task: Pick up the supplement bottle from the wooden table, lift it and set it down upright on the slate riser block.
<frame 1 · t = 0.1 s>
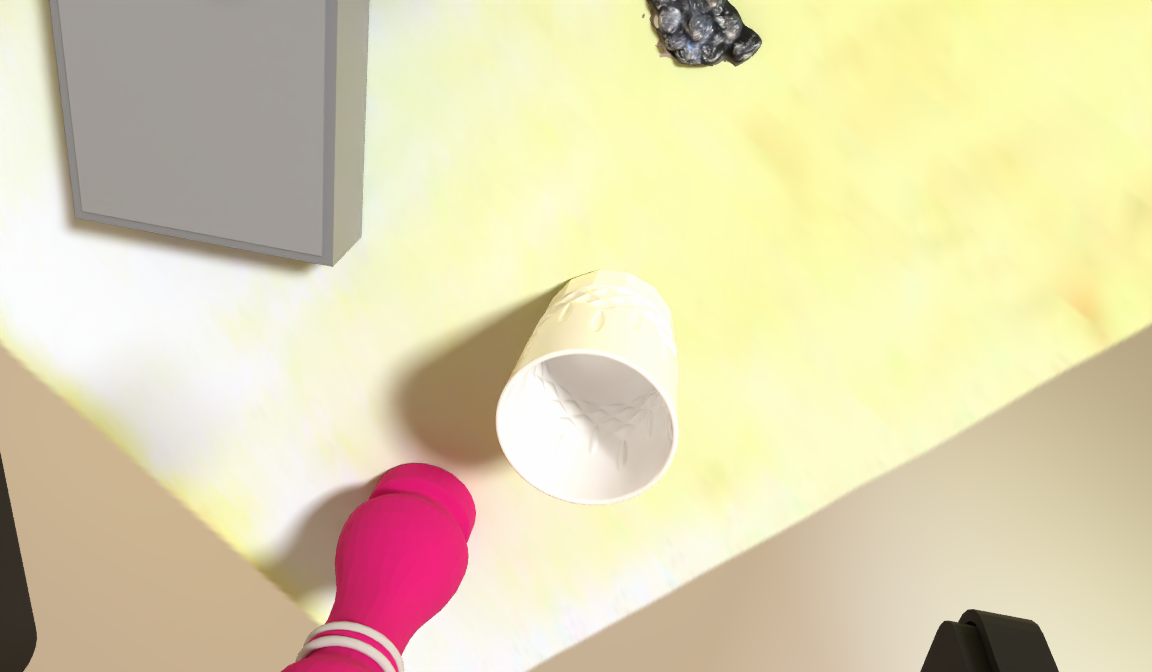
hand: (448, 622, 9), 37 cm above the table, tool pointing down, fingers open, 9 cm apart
slate riser: (236, 90, 46), on the table
pepper mill: (426, 503, 56), on the table
white cup: (610, 325, 49), on the table
blueberries: (711, 15, 42), on the table
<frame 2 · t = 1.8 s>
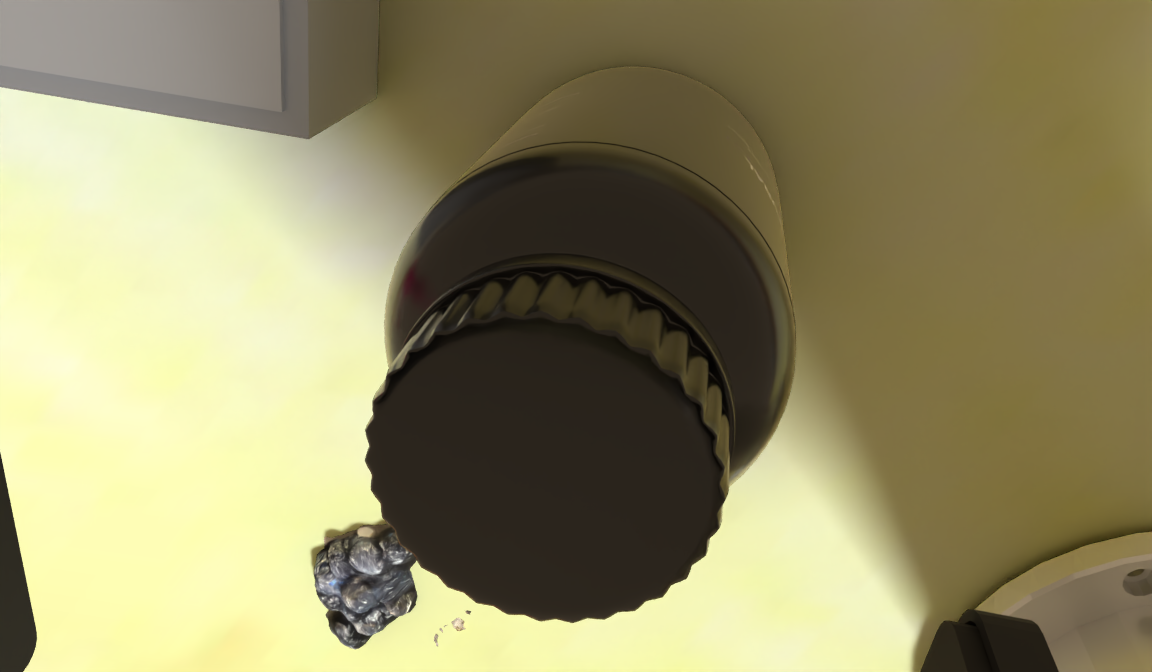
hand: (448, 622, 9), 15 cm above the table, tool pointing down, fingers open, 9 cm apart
supplement bottle: (635, 199, 23), on the table
blueberries: (388, 579, 30), on the table
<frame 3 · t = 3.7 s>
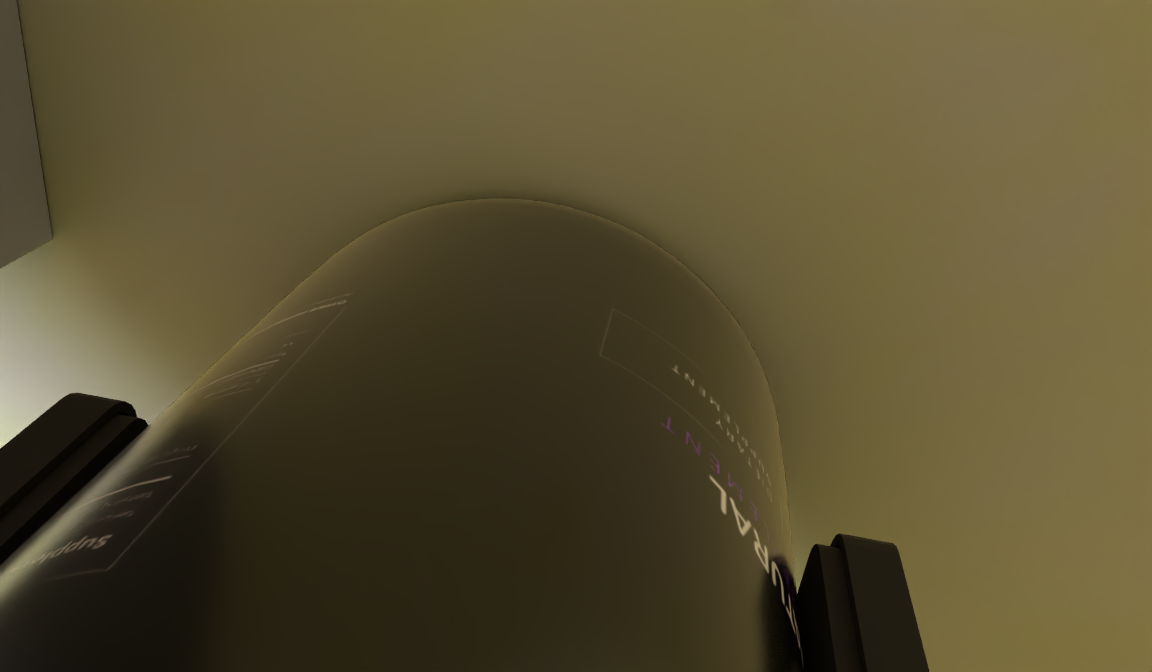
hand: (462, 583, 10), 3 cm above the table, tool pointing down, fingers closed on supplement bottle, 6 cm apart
supplement bottle: (524, 411, 13), on the table, touching gripper
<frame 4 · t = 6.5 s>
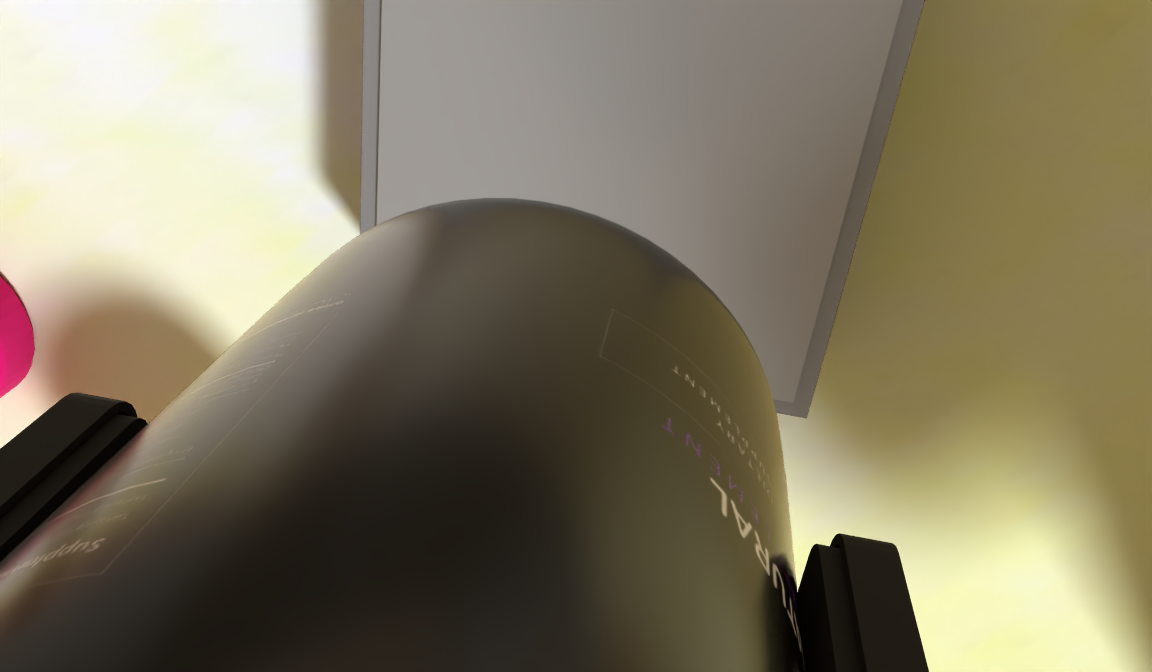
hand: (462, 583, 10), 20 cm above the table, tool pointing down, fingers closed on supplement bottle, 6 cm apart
slate riser: (625, 119, 27), on the table
supplement bottle: (524, 412, 13), point 16 cm above the table, touching gripper
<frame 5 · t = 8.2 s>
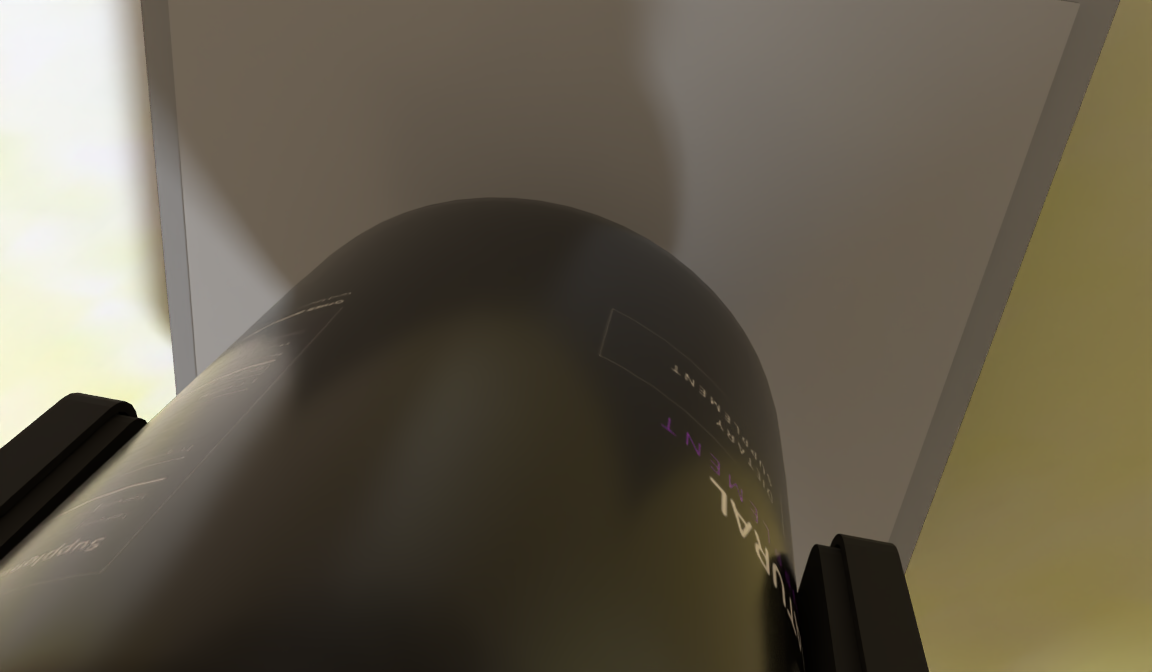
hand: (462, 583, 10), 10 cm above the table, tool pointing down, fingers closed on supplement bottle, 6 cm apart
slate riser: (586, 247, 18), on the table
supplement bottle: (523, 411, 13), point 6 cm above the table, touching gripper
when the fingers open (9 cm above the table, at t = 9.4 s): supplement bottle drops 1 cm, resting on slate riser.
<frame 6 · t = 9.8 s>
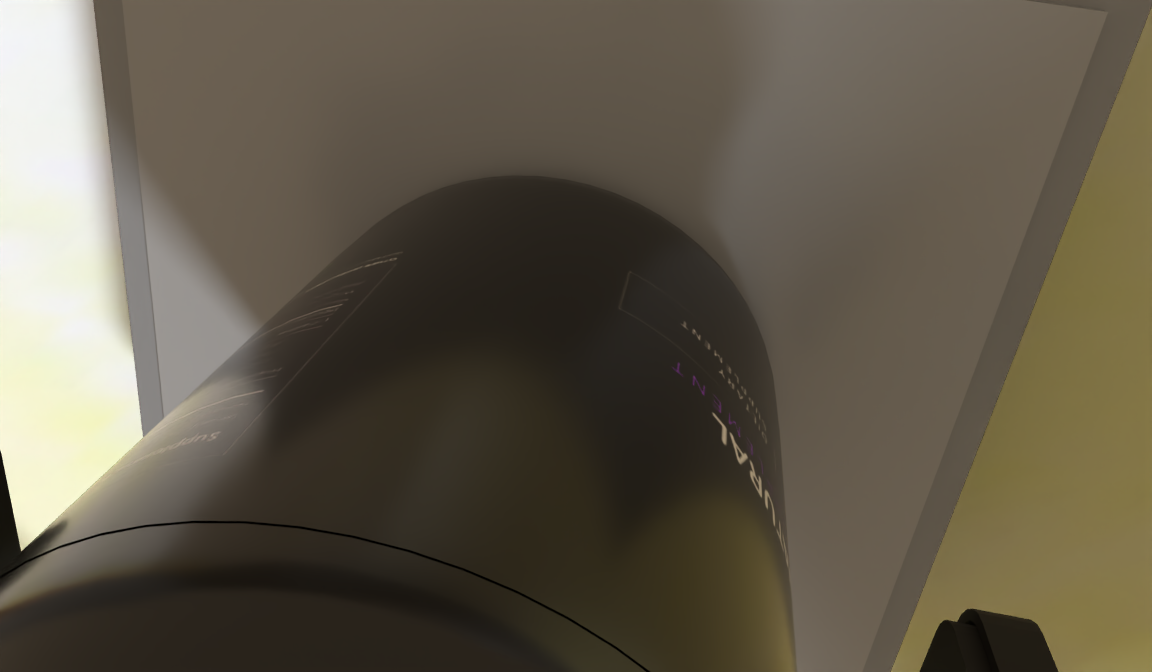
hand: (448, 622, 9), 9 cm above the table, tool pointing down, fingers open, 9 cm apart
slate riser: (576, 265, 17), on the table
supplement bottle: (543, 374, 14), point 4 cm above the table, touching slate riser
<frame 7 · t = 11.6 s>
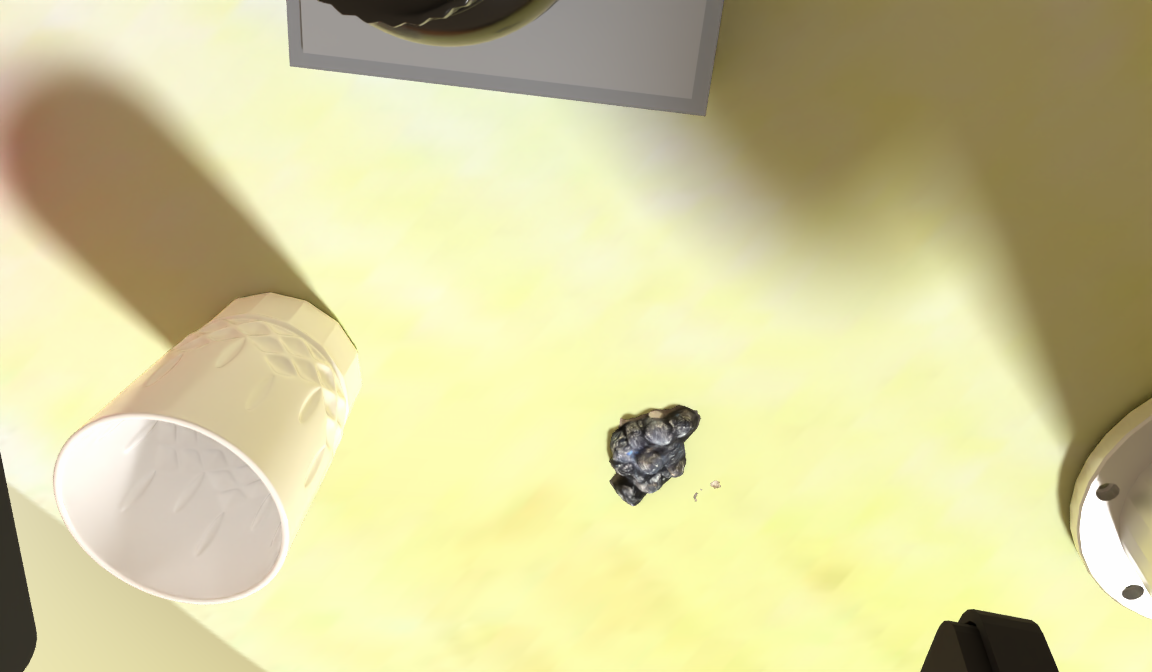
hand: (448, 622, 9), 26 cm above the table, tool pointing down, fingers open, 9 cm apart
white cup: (287, 360, 39), on the table
blueberries: (658, 453, 40), on the table
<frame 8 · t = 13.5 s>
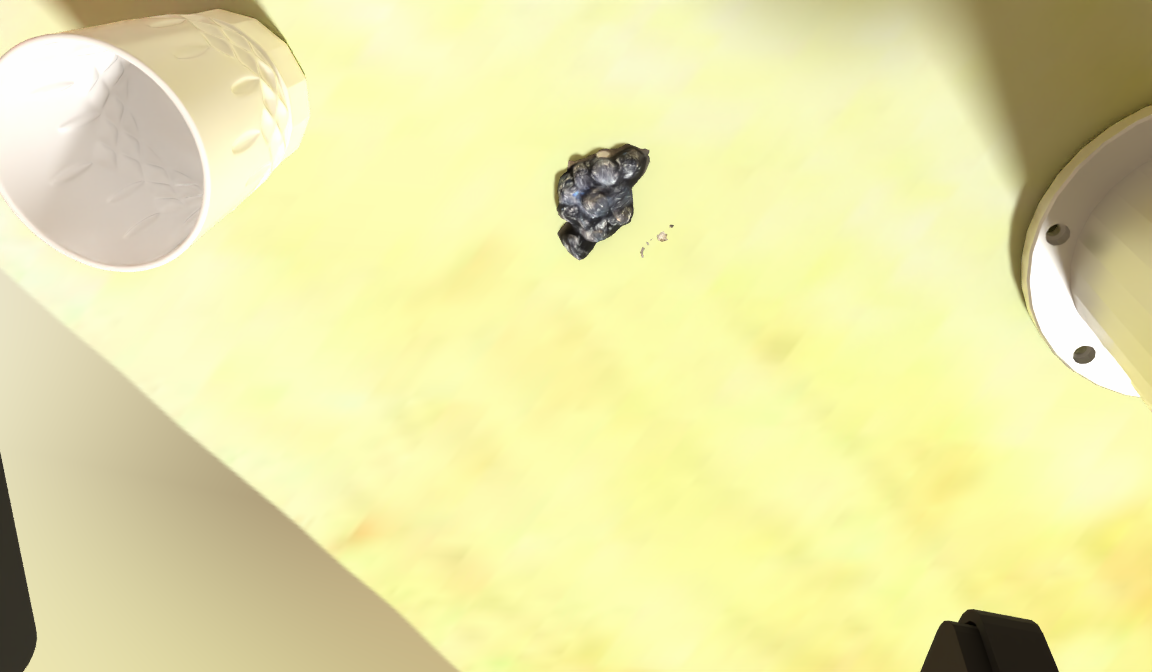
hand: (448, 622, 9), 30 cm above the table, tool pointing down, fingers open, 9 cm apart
white cup: (236, 92, 39), on the table
blueberries: (607, 205, 40), on the table
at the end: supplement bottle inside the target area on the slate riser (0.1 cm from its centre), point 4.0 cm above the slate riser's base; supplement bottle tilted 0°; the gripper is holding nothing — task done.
